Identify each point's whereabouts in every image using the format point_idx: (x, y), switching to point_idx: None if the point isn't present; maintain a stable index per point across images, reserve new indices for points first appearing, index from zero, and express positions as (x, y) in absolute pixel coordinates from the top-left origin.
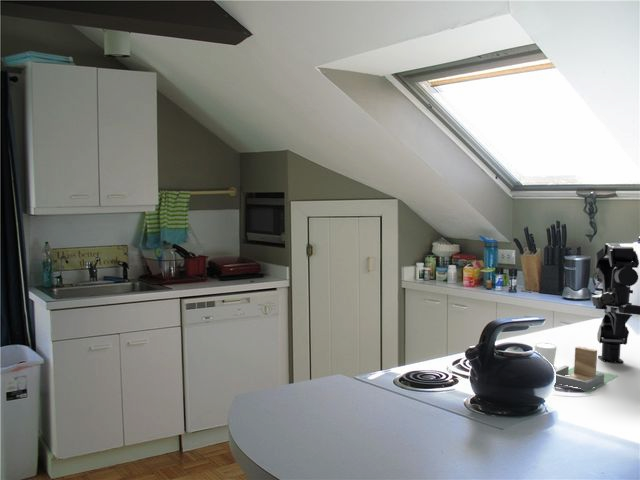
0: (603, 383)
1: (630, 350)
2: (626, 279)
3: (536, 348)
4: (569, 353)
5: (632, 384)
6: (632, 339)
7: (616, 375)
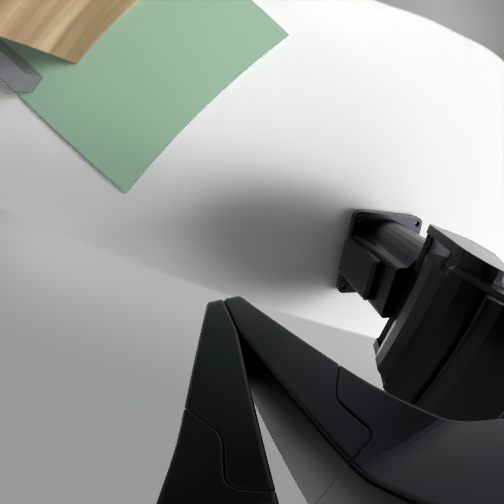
0: None
1: None
2: None
3: None
4: (466, 130)
5: (31, 213)
6: None
7: (127, 181)
